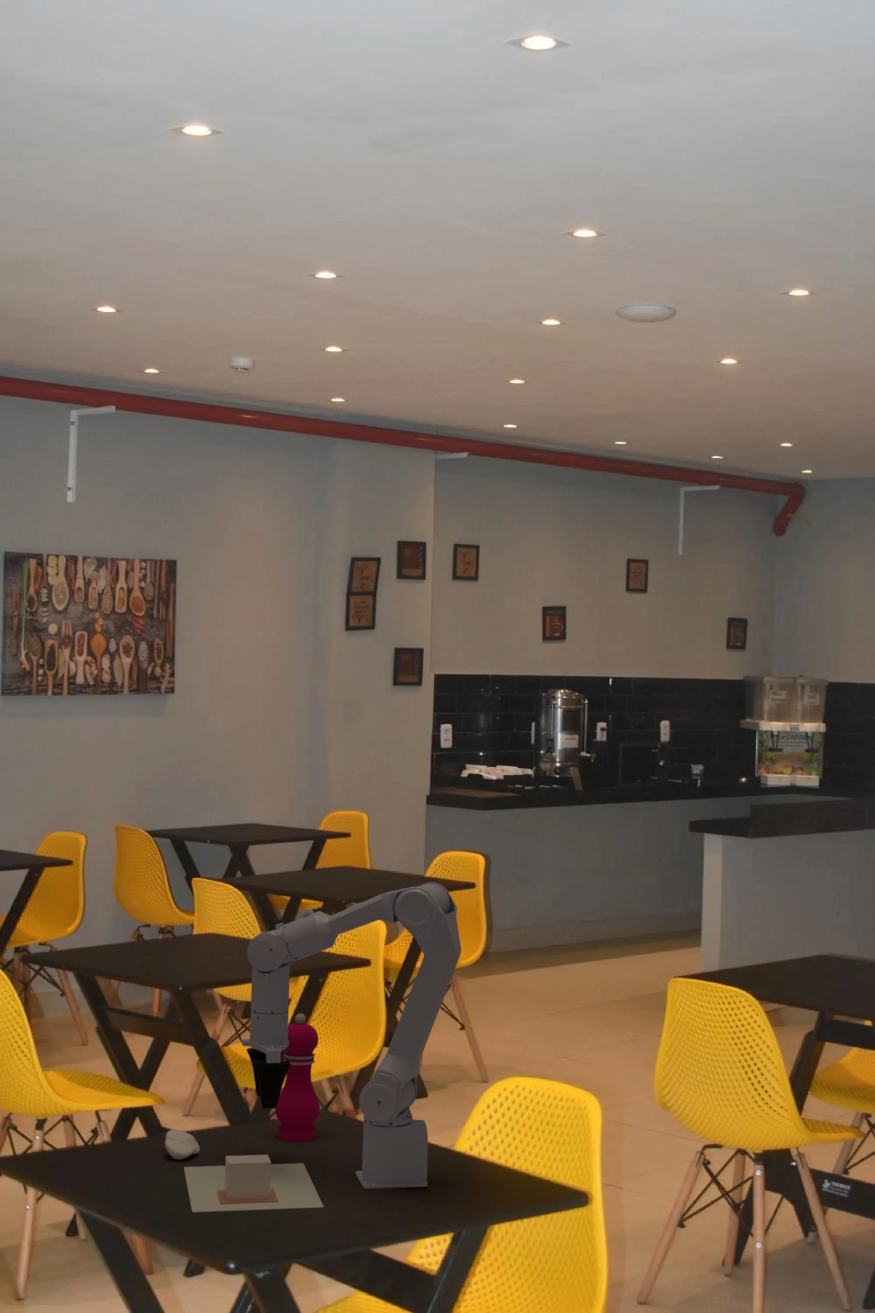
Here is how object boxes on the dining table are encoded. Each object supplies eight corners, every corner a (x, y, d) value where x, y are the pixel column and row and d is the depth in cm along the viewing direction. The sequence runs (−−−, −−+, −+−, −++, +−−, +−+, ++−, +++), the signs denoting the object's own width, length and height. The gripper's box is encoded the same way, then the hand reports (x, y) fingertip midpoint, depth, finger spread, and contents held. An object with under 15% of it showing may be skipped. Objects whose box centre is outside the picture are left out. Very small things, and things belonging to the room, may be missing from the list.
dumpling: (169, 1152, 241) (169, 1126, 241) (202, 1153, 240) (203, 1127, 241) (159, 1165, 234) (160, 1138, 234) (194, 1166, 233) (195, 1139, 234)
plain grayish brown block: (224, 1192, 218) (225, 1156, 219) (266, 1190, 220) (267, 1155, 220) (226, 1200, 215) (228, 1164, 215) (269, 1198, 216) (271, 1162, 216)
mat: (303, 1165, 235) (303, 1163, 235) (323, 1209, 213) (323, 1207, 213) (183, 1169, 231) (183, 1167, 231) (192, 1214, 210) (192, 1212, 210)
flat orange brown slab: (273, 1189, 221) (273, 1188, 221) (278, 1202, 215) (278, 1200, 215) (217, 1191, 219) (217, 1190, 219) (220, 1204, 213) (220, 1203, 213)
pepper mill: (274, 1132, 254) (278, 1009, 255) (318, 1132, 255) (322, 1010, 256) (274, 1144, 247) (278, 1017, 248) (319, 1144, 248) (323, 1018, 249)
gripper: (239, 1003, 240) (236, 1091, 239) (247, 1020, 226) (244, 1114, 225) (284, 1002, 242) (281, 1090, 241) (295, 1019, 227) (292, 1113, 227)
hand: (266, 1102), depth 233 cm, fingers open, 7 cm apart
